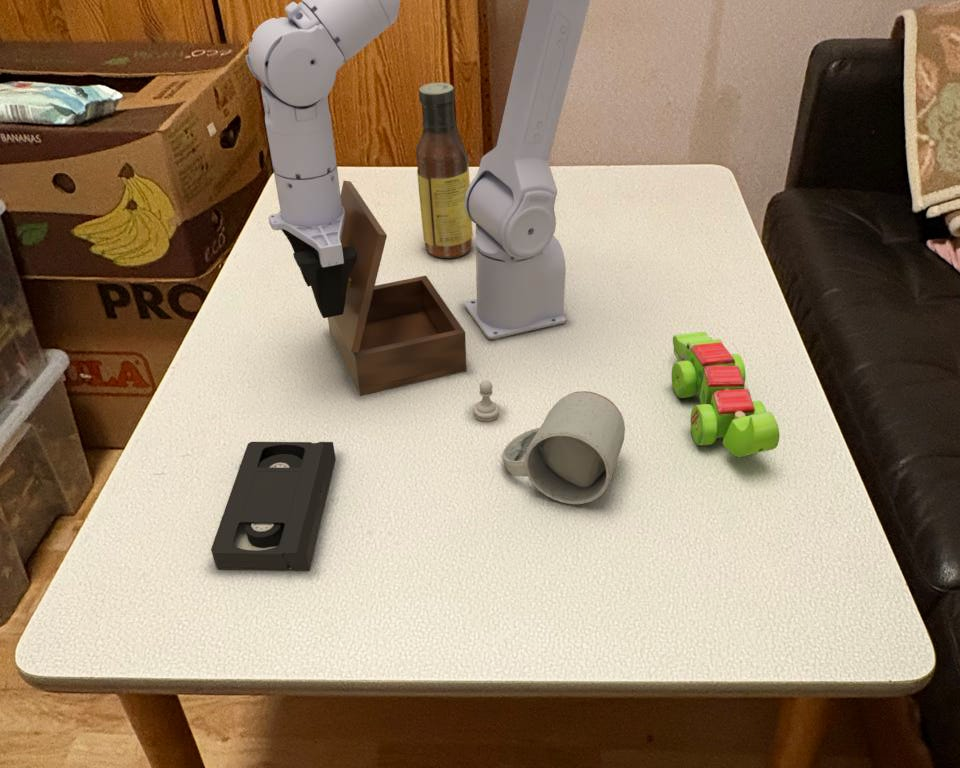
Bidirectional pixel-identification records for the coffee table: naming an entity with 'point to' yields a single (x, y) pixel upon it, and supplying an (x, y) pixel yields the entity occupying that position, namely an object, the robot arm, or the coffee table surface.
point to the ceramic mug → (571, 448)
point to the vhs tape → (275, 507)
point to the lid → (359, 264)
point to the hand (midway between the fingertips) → (324, 298)
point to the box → (404, 338)
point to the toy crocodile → (720, 396)
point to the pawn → (486, 404)
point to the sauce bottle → (442, 175)
